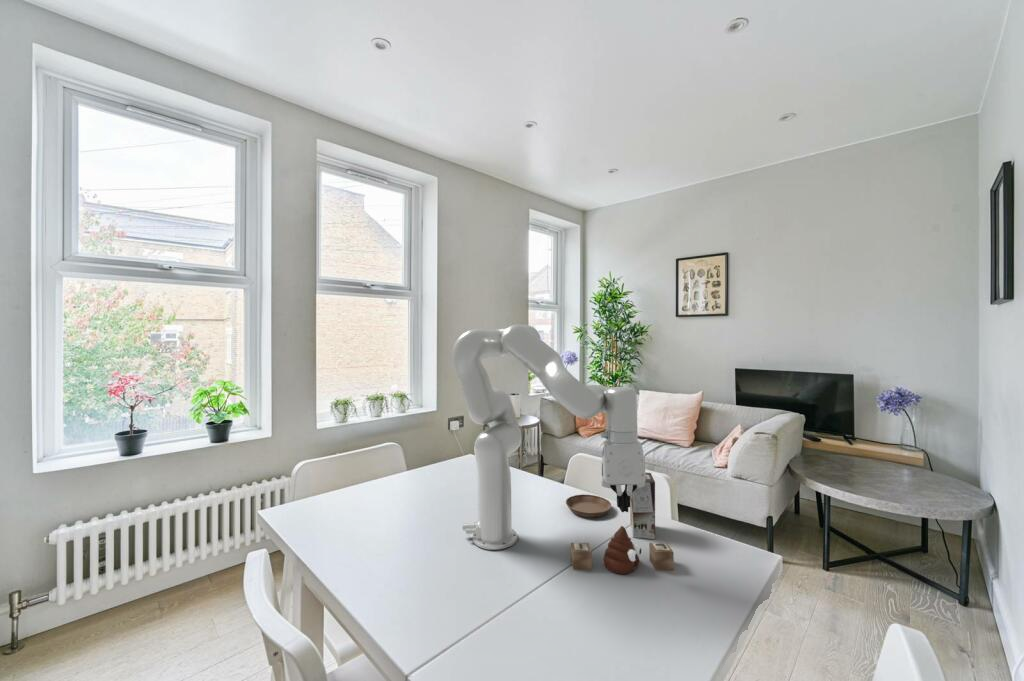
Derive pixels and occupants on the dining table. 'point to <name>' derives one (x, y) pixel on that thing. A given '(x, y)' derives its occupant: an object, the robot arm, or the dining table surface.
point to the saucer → (588, 505)
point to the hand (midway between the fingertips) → (623, 509)
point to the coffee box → (643, 510)
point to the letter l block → (661, 556)
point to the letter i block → (581, 556)
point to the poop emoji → (621, 553)
